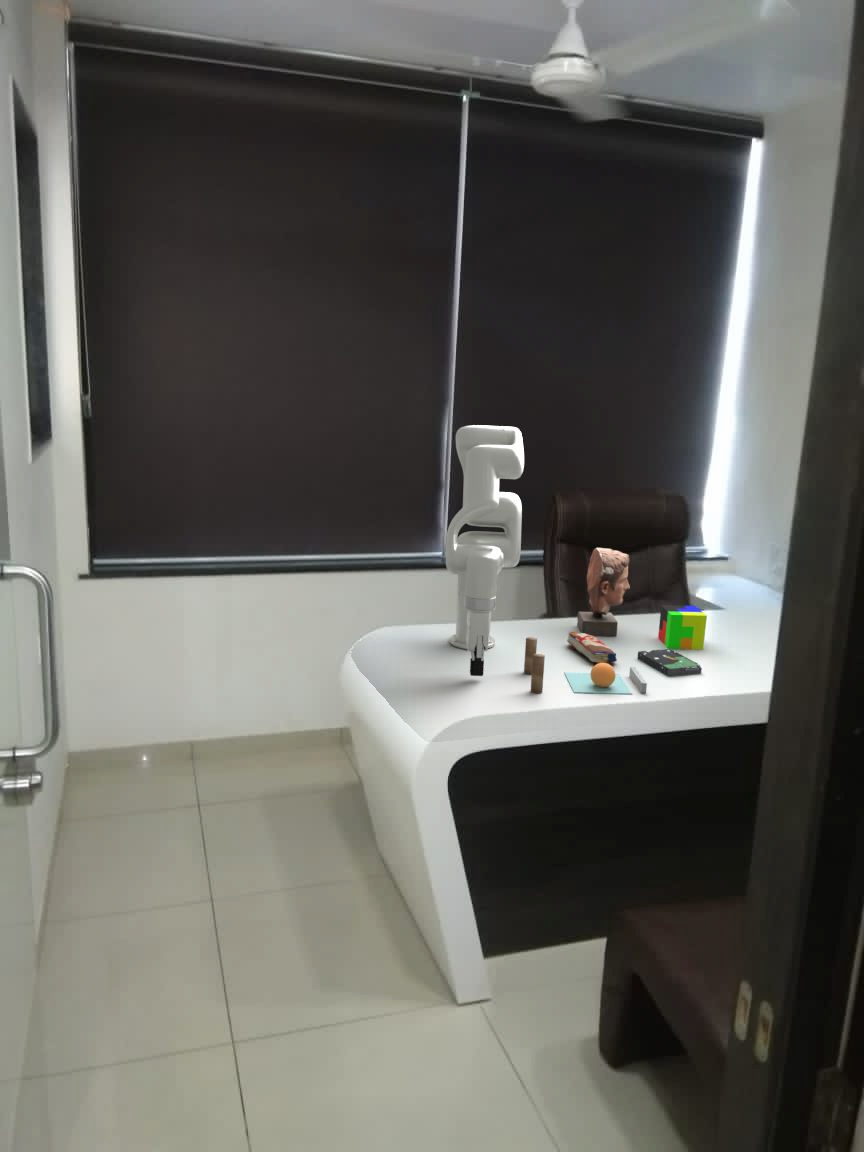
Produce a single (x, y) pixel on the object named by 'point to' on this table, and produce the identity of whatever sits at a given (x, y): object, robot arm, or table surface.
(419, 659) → the table surface
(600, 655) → the pencil case
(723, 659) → the table surface
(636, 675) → the stopper strip
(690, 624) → the puzzle toy
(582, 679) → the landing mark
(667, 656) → the disk drive
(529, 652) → the post
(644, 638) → the table surface
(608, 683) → the ball
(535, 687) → the post
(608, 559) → the bust
